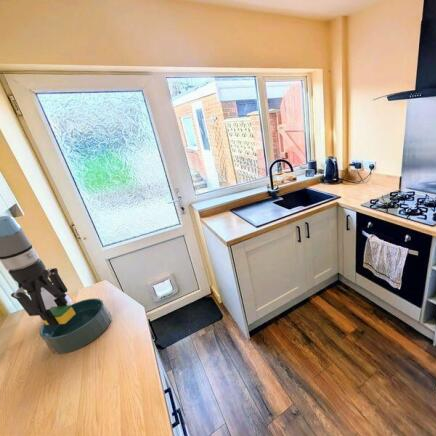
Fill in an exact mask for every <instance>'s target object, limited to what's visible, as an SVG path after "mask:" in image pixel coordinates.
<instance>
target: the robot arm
mask: <svg viewBox="0 0 436 436" xmlns="http://www.w3.org/2000/svg"><path fill="white" fill-rule="evenodd" d="M0 262H1V265H2V266H3V267H4V268H5V270H7V271H8V274H9V275H10V276H11V278H12V279H13V280H14V281H15V282H16V283H17V287H18V288H17V290H16V291H15V292H12V293H11V294H10V296H11V297H12V298H13V299H15V300H17V302H18V303H19V304H20V306H21V307H22V308H23V309H24V311H25V312H26V314H27V315H28V316H29V317H36V316H39V317H40V319H41V320H42V321H43V320H44V321H45V320H46V321H47V323H48V324H49V325H50V326H52V325H58V324H59V323H58V321H57V320H56V318H55V317H54V315H53V314H52V312H51V311H50V309H46V308H45V305H44V302H43V299H42V296H41V292H42V290H41V288H42V287H43V288H44V289H46V290H47V291H48V292H49V293H50V294H51V295H53V296H54V297H55V298H57V299H54V302H55V303H56V305H57V306H67V300H66V299H65V297H66V294H65V292H67V293H68V288H67V286H66V284H65V283H64V281H63V279H62V277H60V274H59V271H58V268H57V267H53V268H47V267H46V265H45V263H44V262H43V261H42V259H41V258H40V256H39V255H38V253H37V252H36V250H35V248H34V246H33V245H32V243H31V242H30V240H29V239H28V237H27V235H26V233H25V232H24V230H23V228H22V226H21V225H20V224H19V223H18V221H17V220H16V219H15V218H14V217H13V216H10V215H1V216H0ZM48 276H49V278H48ZM44 321H43V322H44Z"/></svg>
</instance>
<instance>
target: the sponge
mask: <svg viewBox="0 0 436 436" xmlns="http://www.w3.org/2000/svg"><path fill="white" fill-rule="evenodd" d="M50 311H51V312H52V314H53V315H54V317H55V318H56V320H57V321H58V323H59V324H66V323H67V322H68V321H69V320H70V319H71V318H72V317H73V316H74V315H75V314H76V313H75V312H74V310H73V308H72V307H71V305H68V306H55V307H51V308H50ZM42 321H43V324H44V323H45V324H46V325H49V324H48V323H47V321H46V320H45V321H44V320H42Z"/></svg>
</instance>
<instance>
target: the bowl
mask: <svg viewBox="0 0 436 436" xmlns="http://www.w3.org/2000/svg"><path fill="white" fill-rule="evenodd" d="M71 307H72V308H73V310H74V312H75V313H76V314H75V315H74V316H73V317H72V318H71V319H70V320H69V321H68V322H67V323H66V324H58V325H52V326H50V325H46V324H45V323H44V322H43V324H42V325H41V327H40V329H39V337H40V338H41V340H42V341H43V342H44V344H45V345H46V346H47V348H48V349H49V350H50V351H51V352H52V353H53V354H67V353H71V352H74V351H77V350H78V349H80V348H83V347H85V346H86V345H88V344H90V343H92V342H93V341H94V340H96V339H97V338H98V337H100V336H101V334H103V333H104V332H105V331H106V329H108V327H109V325H110V324H111V321H112V315H111V314H110V312H109V310H108V308H107V305H105V303H104V301H103V300H102V299H100V298H95V297H94V298H87V299H82V300H80V301H77V302H73V304H72V305H71Z"/></svg>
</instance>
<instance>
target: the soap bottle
mask: <svg viewBox="0 0 436 436" xmlns="http://www.w3.org/2000/svg"><path fill="white" fill-rule="evenodd" d="M48 279H50V278H49V276H48ZM41 291H42V292H41V296H42V299H43V302H44V305H45V308H46V309H50V308H51V307H55V306H57V305H56V303H55V302H54V299H57V298H55V297H54V296H53V295H51V294H50V293H49V292H48V291H47V290H46V289H44V288H43V287H42V288H41ZM65 294H66V297H65V299H66V300H67V306H68V305H72V304H74V302H73V300H72V298H71V297H70V296H69V294H68V291H67V292H65Z"/></svg>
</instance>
